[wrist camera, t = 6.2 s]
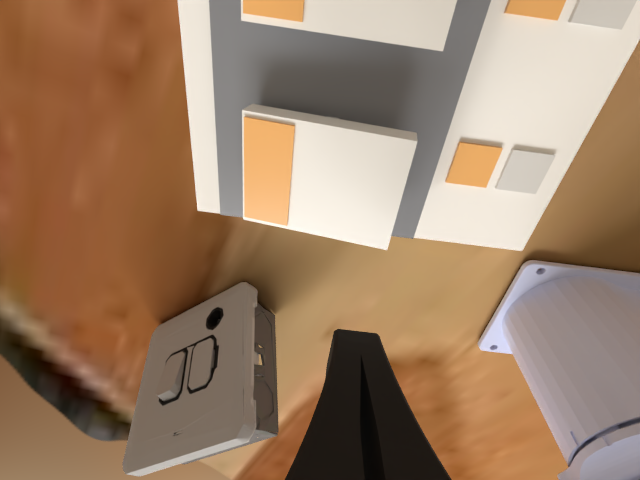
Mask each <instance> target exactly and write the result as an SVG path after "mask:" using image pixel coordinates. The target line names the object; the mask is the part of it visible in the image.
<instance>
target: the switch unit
mask: <svg viewBox="0 0 640 480" xmlns="http://www.w3.org/2000/svg"><path fill="white" fill-rule="evenodd" d="M178 9H179V19H180V30H181V40H182V51H183V61H184V72H185V83H186V93H187V104H188V114H189V125H190V135H191V146H192V156H193V167H194V177H195V188H196V198H197V209H198V211H204V212H212V213H220V215H227V216H235V217H243V161H242V110H243V109H244V108H246V107H248V106H249V105H251V104H257V105H263V106H268V107H274V108H280V109H285V110H291V111H297V112H302V113H308V114H314V115H319V116H325V117H331V118H336V119H342V120H348V121H353V122H359V123H365V124H370V125H376V126H381V127H387V128H393V129H398V130H404V131H410V132H415V133H417V140H418V142H417V145H416V149H415V153H414V156H413V160H412V163H411V167H410V170H409V174H408V177H407V181H406V185H405V188H404V192H403V195H402V199H401V202H400V206H399V209H398V213H397V217H396V220H395V224H394V227H393V231H392V234H391V236H396V237H404V238H412V239H413V238H422V239H430V240H438V241H446V242H454V243H462V244H470V245H478V246H486V247H494V248H502V249H510V250H518V251H522V250H523V248H524V247H525V245H526V243H527V241H528V239H529V238H530V236H531V234H532V232H533V230H534V229H535V227H536V225H537V223H538V221H539V220H540V218H541V216H542V214H543V212H544V211H545V209H546V207H547V205H548V204H549V202H550V200H551V198H552V196H553V195H554V193H555V191H556V189H557V187H558V186H559V184H560V182H561V180H562V178H563V177H564V175H565V173H566V171H567V169H568V168H569V166H570V164H571V162H572V160H573V159H574V157H575V155H576V153H577V151H578V150H579V148H580V146H581V144H582V142H583V141H584V139H585V137H586V135H587V133H588V132H589V130H590V128H591V126H592V124H593V123H594V121H595V119H596V117H597V115H598V114H599V112H600V110H601V108H602V106H603V105H604V103H605V101H606V99H607V97H608V96H609V94H610V92H611V90H612V88H613V87H614V85H615V83H616V81H617V79H618V78H619V76H620V74H621V72H622V70H623V69H624V67H625V65H626V63H627V61H628V60H629V58H630V56H631V54H632V52H633V51H634V49H635V47H636V45H637V43H638V42H639V40H640V0H457V3H456V6H455V10H454V13H453V17H452V21H451V24H450V28H449V31H448V35H447V38H446V42H445V45H444V49H443V51H437V50H430V49H424V48H417V47H410V46H404V45H397V44H391V43H384V42H378V41H371V40H365V39H358V38H351V37H345V36H338V35H332V34H325V33H319V32H312V31H306V30H299V29H292V28H286V27H279V26H273V25H266V24H260V23H253V22H246V21H241V0H178Z"/></svg>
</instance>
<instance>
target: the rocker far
mask: <svg viewBox="0 0 640 480" xmlns="http://www.w3.org/2000/svg"><path fill="white" fill-rule="evenodd" d="M417 142H418V140H417V133H415V132H410V131H404V130H398V129H393V128H387V127H381V126H376V125H370V124H365V123H359V122H353V121H348V120H342V119H336V118H331V117H325V116H319V115H314V114H308V113H302V112H297V111H291V110H285V109H280V108H274V107H268V106H263V105H257V104H251V105H249V106H248V107H246V108H244V109H243V110H242V161H243V220H248V221H253V222H258V223H262V224H267V225H272V226H276V227H281V228H286V229H290V230H295V231H300V232H304V233H309V234H314V235H319V236H323V237H328V238H333V239H337V240H342V241H347V242H351V243H356V244H361V245H365V246H370V247H375V248H379V249H384V250H387V249H388V245H389V241H390V238H391V234H392V231H393V227H394V224H395V220H396V217H397V213H398V209H399V206H400V202H401V199H402V195H403V192H404V188H405V185H406V181H407V177H408V174H409V170H410V167H411V163H412V160H413V156H414V153H415V149H416V145H417Z"/></svg>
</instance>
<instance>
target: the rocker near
mask: <svg viewBox="0 0 640 480" xmlns="http://www.w3.org/2000/svg"><path fill="white" fill-rule="evenodd" d="M456 3H457V0H241V21H246V22H253V23H260V24H266V25H273V26H279V27H286V28H292V29H299V30H306V31H312V32H319V33H325V34H332V35H338V36H345V37H351V38H358V39H365V40H371V41H378V42H384V43H391V44H397V45H404V46H410V47H417V48H424V49H430V50H437V51H443V49H444V45H445V42H446V38H447V35H448V31H449V28H450V24H451V21H452V17H453V13H454V10H455V6H456Z"/></svg>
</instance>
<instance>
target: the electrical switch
mask: <svg viewBox="0 0 640 480" xmlns="http://www.w3.org/2000/svg"><path fill="white" fill-rule="evenodd" d="M257 294H258V291H257V289H256V288H255V287H253V286H252V285H250V284H248V283H247V282H241V283H239V284H237V285H235V286H233V287H231V288H229V289H227V290H226V291H224V292H222V293H220V294H218V295H216V296H214V297H212V298H210V299H208V300H207V301H205V302H203V303H201V304H199V305H197V306H195V307H193V308H191V309H189V310H188V311H186V312H184V313H182V314H180V315H178V316H176V317H174V318H172V319H170V320H169V321H167V322H165V323H163V324H161V325H159V326H158V327H157V328H156V329H155V331H154V333H153V334H152V337H151V341H150V345H149V350H148V354H147V358H146V363H145V367H144V372H143V376H142V380H141V385H140V389H139V394H138V398H137V403H136V407H135V411H134V416H133V420H132V425H131V429H130V434H129V438H128V442H127V447H126V451H125V456H124V460H123V470H124V472H125V474H128V475H134V476H142V475H146V474H149V473H152V472H155V471H158V470H161V469H165V468H168V467H171V466H174V465H177V464H187V463H190V462H194V461H197V460H200V459H203V458H207V457H210V456H213V455H216V454H219V453H223V452H226V451H229V450H232V449H236V448H239V447H242V446H245V445H248V444H252V443H255V442H258V441H261V440H265V439H268V438H271V437H274V436H277V433H278V402H277V370H276V337H275V315H274V314H272V313H270V312H269V311H267V310H266V309H264V308H263V307H262V306H261V305H260V304H259V303H257ZM258 344H259V345H260V346H262V347H263V348H259V346H258ZM258 354H261V359H262V365H259V356H258ZM269 431H270V432H269ZM275 432H277V433H275Z"/></svg>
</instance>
